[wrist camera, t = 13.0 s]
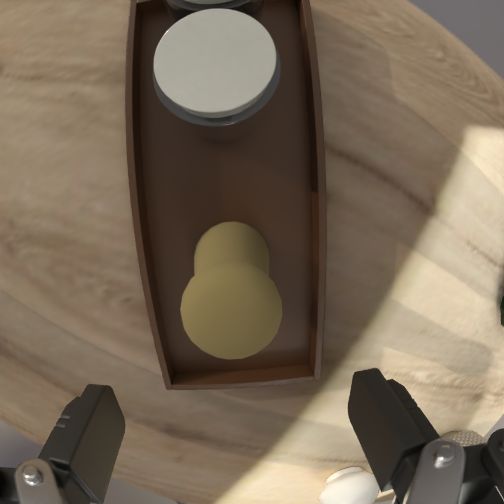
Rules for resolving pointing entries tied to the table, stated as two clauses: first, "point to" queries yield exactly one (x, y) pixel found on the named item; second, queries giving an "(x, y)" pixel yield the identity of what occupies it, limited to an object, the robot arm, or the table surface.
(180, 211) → the tray
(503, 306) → the flat green button pad
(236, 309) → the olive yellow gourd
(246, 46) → the cylinder
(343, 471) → the flower vase
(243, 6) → the black shaker
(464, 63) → the table surface
